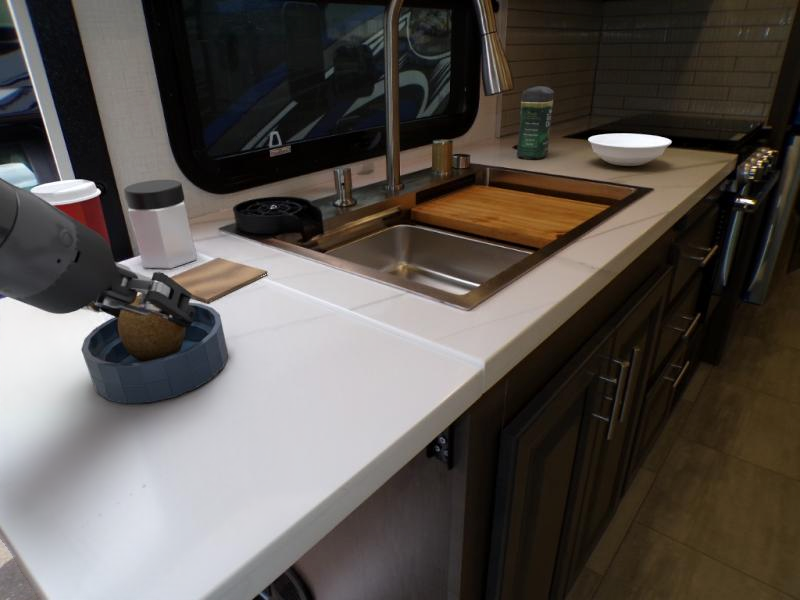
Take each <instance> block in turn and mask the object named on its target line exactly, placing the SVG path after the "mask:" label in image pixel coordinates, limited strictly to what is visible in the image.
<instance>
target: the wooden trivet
mask: <svg viewBox="0 0 800 600" xmlns="http://www.w3.org/2000/svg"><path fill="white" fill-rule="evenodd" d="M267 273H268V274H269V272H268V270H265V269H261V268H258V267H254V266H250V265H248V264H247V265H246V264H243V263H239V262H236V261H233V260H228V259H225V258H221V257H216V258H214V259H211V260H209V261H207V262H204V263H201V264H200V265H196V266H194V267H192V268H190V269H187V270H185V271H181V272H179V273H177V274H174V275H172V276H169V277H170V278H171V279H172V280H174V281H175V282H176V283H178V284H179V285H180V286H182V287H183V288H185V289H186V290H187V291H189V292H190V293H191V294H192V296H191V299H193V300H196V301H199V302H203V303H205V304H209V303H211V302H214V301H216V300H217V299H220V298H222V297H224V296H226V295H229V294H230V293H232V292H235V291H236V290H239V289H241V288H243V287H245V286H247V285H249V284H251V283H253V282H256V281H257V280H259V278H260V277H261V276H263V275H265V274H267ZM260 279H261V278H260Z"/></svg>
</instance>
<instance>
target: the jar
mask: <svg viewBox="0 0 800 600" xmlns="http://www.w3.org/2000/svg"><path fill="white" fill-rule="evenodd" d="M183 189H184V188H183V183H182V182H181V181H179V180H176V179H153V180H146V181H145V180H144V181H140V182H135V183H132V184H130V185H127V186H126V187H124V189H123V193H124V199H125V201H126V204H127V207H128V210H127V211H128V215H129V219H130V223H131V227H132V230H133V235H134V238H135V241H136V245H137V249H138V253H139V257H140V261H141V263H142V264H141V265H142V267H143V268H144V269H161V270H163V269H164V270H165V269H166V270H167V269H168V270H170V269H171V270H172V269H174V268H177V267H180V266H183V265H185V264H188V263H192V262H194V261H196V260H197V252H196V245H195V241H194V237H193V233H192V228H191V223H190V218H189V214H188V208H187V205H186V200H185V194H184V193H185V192H184V190H183Z"/></svg>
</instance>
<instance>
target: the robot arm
mask: <svg viewBox="0 0 800 600" xmlns="http://www.w3.org/2000/svg"><path fill="white" fill-rule="evenodd" d="M110 247H111V245H110V246H109V244H108V243H107V241H106V240H105V239H104V238H103V237H102V236H101V235H100V234H98V233H96V232H95V231H93V230H92V229H90V228H88V227H87V226H85V225H83V224H82V223H80V222H79V221H77V220H75V219H74V218H72V217H71V216H69V215H67V214H66V213H64V212H62V211H61V210H59V209H58V208H56V207H54V206H53V205H51V204H50V203H48V202H46V201H45V200H43V199H42V198H40V197H38V196H36V195H34V194H33V193H31V191H28V190H26V189H24V188H21V187H19V186H17V185H14V184H13V183H10V182H9V181H7V180H5V179H3V178H2V177H0V295H2V296H5V297H7V298H9V299H12V300H15V301H18V302H21V303H22V304H26V305H28V306H31V307H34V308H36V309H39V310H42V311H44V312H47V313H50V314H56V315H57V314H58V315H65V314H70V313H73V312H77V311H79V310H86V311H87V310H88V311H92V312H94V313H98V314H99V313H105V314H107V315H110V316H111V317H113V318H114V317H116V318H119V314H120V311H121V310H123V311H126V312H129V313H132V314H135V315H139V316H142V315H149V314H153V315H156V316H159V317H162V318H163V319H167V320H169V321H171V322H173V323H175V324H177V325H179V326H181V327H190V326H191V324H192V322H193V319H194V315H195V309H194V308H193V307H192V306H190V305H189V303H190V300H191V299H192V298H191V296H192V294H191V293H190V292H189V291H187V290H186V289H185V288H183V287H182V286H180V285H179V284H178V283H176V282H175V281H174V280H172V279H171V278H170V277H171V276H168V275H167V274H165V273H164V272H161V271H158V272H157V271H155V272H152V276H151V277H149V276H146V275H143V274H140V273H139V272H136V271H132V269H131V268H130V267H129V266H127V265H125V264H122V263H119V262H116V261H115V258H114V255H113V252H112V247H111V248H110ZM138 293H139V294H141V293H142V295H141V298H140V302H139V305H138V306H134V305H131V304H132V303H134V301H135V300H136V297H137V296H138V295H139V294H138ZM153 305H155V306H156V307H158V308H156V307H154V306H153ZM159 308H160V309H159Z"/></svg>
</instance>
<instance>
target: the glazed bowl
mask: <svg viewBox="0 0 800 600" xmlns="http://www.w3.org/2000/svg"><path fill="white" fill-rule="evenodd" d="M189 305H190V306H192V307H193V308H194V309H195V315H194V319H193V322H192V324H191V326H190V327H185V337H184V341H183V344H182V347H181V350H180V351H179V352H178V353H176V354H173V355H170V356H167V357H164V358H160V359H155V360H150V361H145V362H140V361H138V360H136V359H135V358H134V357H133V356H132V355H130V354H129V353H128V351H127V350H126V348H125V347H124V345H123V343H122V341H121V338H120V336H119V332H118V318H116V317H114V316H113V317H112V318H109V319H108V320H106V321H105V322H103V323H102V324H100V325H98V326H96V327H95V328H94V329H93V330H91V331H90V333H89V334H87V336H86V337H85V338H84V339H83V342H82V345H81V349H80V351H81V353H82V357H83V359H84V362H85V364H86V365H85V366H86V368H87V371H88V374H89V377H90V379H91V382H92V385H93V387H94V389H95V392H96V393H97V394H98V395H100V396H102V398H105V399H106V400H108V401H111V402H118V403H123V404H139V403H140V404H141V403H142V404H143V403H153V402H157V401H161V400H166V399H170V398H171V399H172V398H174V397H175V398H176V397H177V396H180V395H182V394H184V393H187V392H190V391H193V390H194V389H196V388H198V387H200V386H201V385H204V384H205V383H206V382H209V381H210V380H211V379H213V378H214V377H215V376H216V375H217V374H218V373H219V372H220V371H221V370H222V369H223V368H224V366H225V364H226V363H227V359H228V358H229V352H228V347H227V341H226V338H225V332H224V328H223V327H224V326H223V323H222V318H221V314H220V313H219V312H218V311H217V310H216V309H214V307H212V306H208V305H205V304H202V303H198V302H189Z"/></svg>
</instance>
